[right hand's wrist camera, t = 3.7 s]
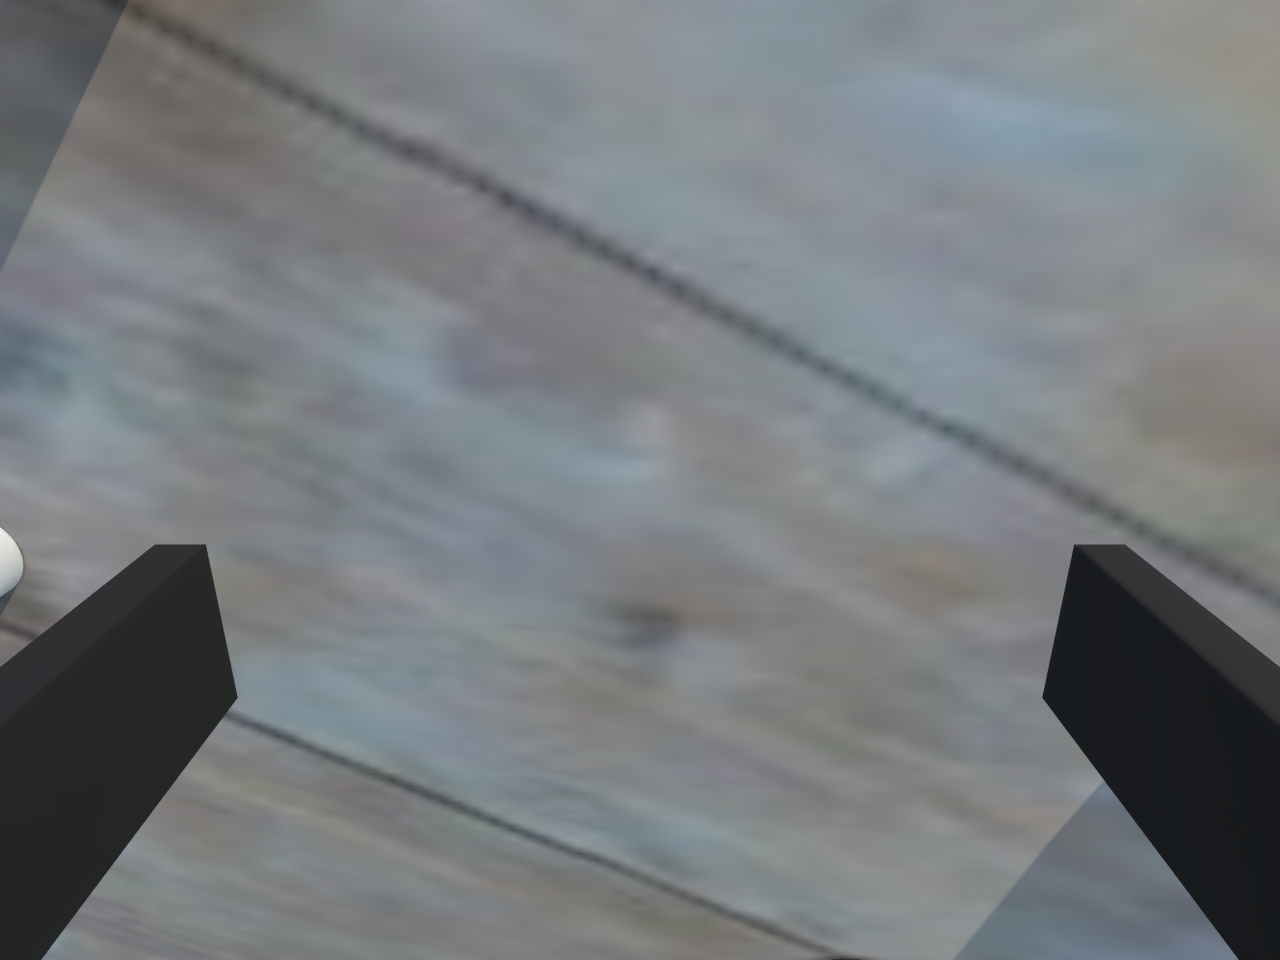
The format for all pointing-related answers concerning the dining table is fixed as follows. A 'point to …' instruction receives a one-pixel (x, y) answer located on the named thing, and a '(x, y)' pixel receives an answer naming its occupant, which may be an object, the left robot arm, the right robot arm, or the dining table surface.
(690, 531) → the dining table surface
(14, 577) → the white cylinder
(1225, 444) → the dining table surface
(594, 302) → the dining table surface
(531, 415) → the dining table surface
